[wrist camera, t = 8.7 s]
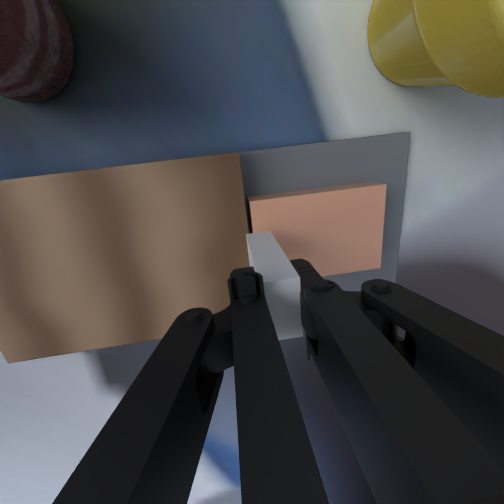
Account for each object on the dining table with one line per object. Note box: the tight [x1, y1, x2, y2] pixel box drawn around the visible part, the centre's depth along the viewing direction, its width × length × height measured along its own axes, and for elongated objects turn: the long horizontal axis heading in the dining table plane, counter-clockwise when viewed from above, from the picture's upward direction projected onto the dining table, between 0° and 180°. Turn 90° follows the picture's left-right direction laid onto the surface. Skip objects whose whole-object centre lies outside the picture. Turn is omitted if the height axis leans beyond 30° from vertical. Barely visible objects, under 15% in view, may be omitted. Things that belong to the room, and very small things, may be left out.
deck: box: [0, 152, 250, 363], centre depth 18 cm, size 18×12×2 cm, turn 97°
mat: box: [239, 132, 410, 291], centre depth 20 cm, size 12×12×1 cm
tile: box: [247, 181, 387, 277], centre depth 18 cm, size 9×6×2 cm, turn 96°
